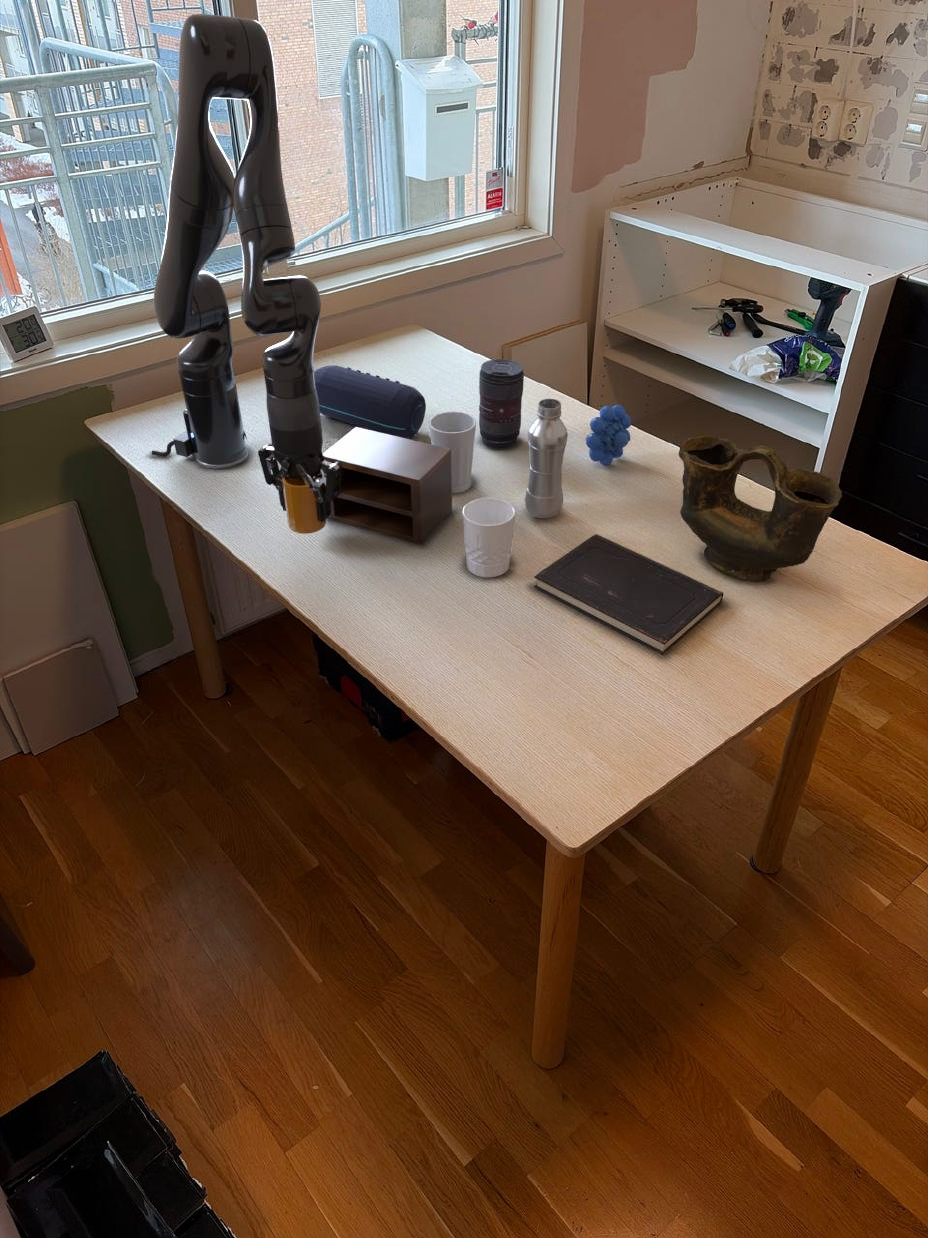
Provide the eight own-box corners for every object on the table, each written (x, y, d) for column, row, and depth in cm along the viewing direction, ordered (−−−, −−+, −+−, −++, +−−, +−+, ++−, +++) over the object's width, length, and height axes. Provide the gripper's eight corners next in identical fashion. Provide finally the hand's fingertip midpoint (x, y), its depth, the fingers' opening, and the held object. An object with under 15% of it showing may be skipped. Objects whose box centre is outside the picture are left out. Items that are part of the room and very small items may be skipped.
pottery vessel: (651, 546, 148) (667, 435, 136) (686, 519, 155) (705, 410, 142) (797, 610, 136) (830, 493, 123) (828, 576, 142) (863, 462, 129)
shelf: (327, 518, 155) (319, 455, 148) (360, 488, 163) (355, 426, 155) (421, 545, 149) (419, 480, 141) (452, 512, 157) (451, 448, 149)
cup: (471, 497, 160) (471, 435, 153) (426, 492, 162) (424, 430, 154) (479, 474, 166) (480, 413, 159) (436, 470, 168) (434, 409, 160)
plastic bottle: (567, 507, 158) (576, 398, 145) (554, 527, 153) (561, 416, 140) (532, 498, 160) (538, 391, 147) (518, 518, 155) (522, 408, 142)
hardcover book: (662, 655, 128) (664, 642, 126) (533, 587, 140) (534, 575, 138) (722, 603, 137) (724, 590, 135) (596, 543, 149) (597, 531, 148)
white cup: (477, 585, 140) (478, 530, 134) (454, 559, 146) (453, 505, 140) (522, 571, 143) (524, 517, 137) (497, 546, 149) (499, 492, 142)
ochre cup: (280, 528, 146) (274, 481, 140) (302, 509, 150) (296, 463, 144) (312, 537, 144) (306, 490, 138) (333, 518, 148) (328, 472, 142)
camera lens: (521, 451, 173) (524, 376, 164) (478, 451, 173) (479, 375, 164) (520, 431, 179) (523, 357, 170) (478, 430, 179) (479, 357, 170)
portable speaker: (436, 430, 180) (434, 382, 173) (406, 451, 173) (404, 402, 167) (334, 400, 190) (330, 353, 184) (303, 418, 184) (297, 371, 177)
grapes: (603, 484, 164) (609, 422, 156) (574, 470, 167) (579, 409, 160) (644, 461, 170) (652, 401, 162) (615, 448, 174) (622, 389, 166)
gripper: (350, 416, 135) (357, 513, 146) (269, 396, 140) (282, 491, 151) (321, 438, 130) (331, 537, 140) (238, 416, 135) (254, 514, 145)
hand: (306, 513), depth 145 cm, fingers closed on ochre cup, 6 cm apart
